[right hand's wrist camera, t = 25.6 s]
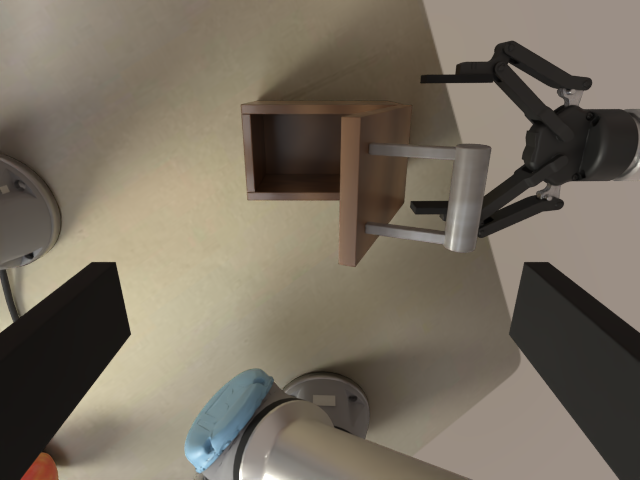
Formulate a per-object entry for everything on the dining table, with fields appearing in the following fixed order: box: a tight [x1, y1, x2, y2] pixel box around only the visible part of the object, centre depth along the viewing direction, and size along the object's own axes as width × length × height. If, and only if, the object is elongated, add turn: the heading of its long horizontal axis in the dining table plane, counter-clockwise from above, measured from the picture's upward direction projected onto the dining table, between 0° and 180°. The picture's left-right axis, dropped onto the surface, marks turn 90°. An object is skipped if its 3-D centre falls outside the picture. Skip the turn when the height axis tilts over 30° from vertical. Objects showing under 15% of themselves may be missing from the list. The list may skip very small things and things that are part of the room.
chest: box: [241, 101, 403, 200], centre depth 44 cm, size 16×10×10 cm, turn 90°
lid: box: [339, 105, 491, 267], centre depth 30 cm, size 17×10×8 cm
